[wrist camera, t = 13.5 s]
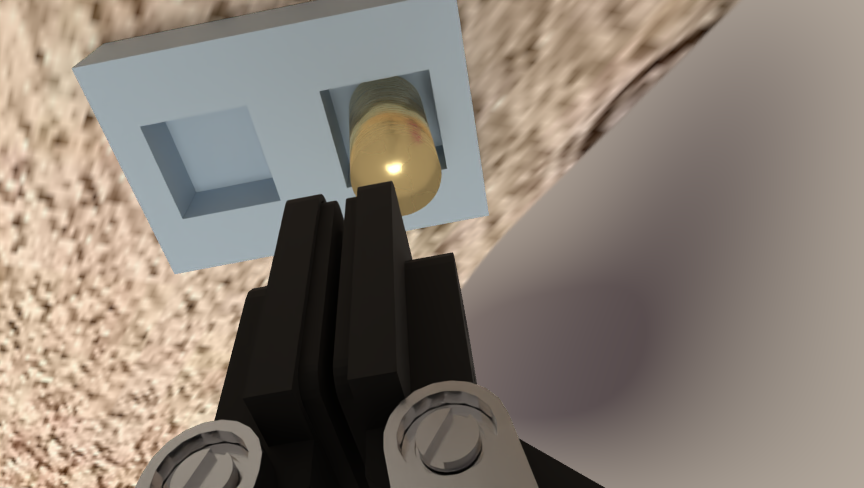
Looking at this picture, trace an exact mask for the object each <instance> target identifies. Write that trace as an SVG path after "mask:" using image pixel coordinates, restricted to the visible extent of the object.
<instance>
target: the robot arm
mask: <svg viewBox="0 0 864 488" xmlns="http://www.w3.org/2000/svg"><path fill="white" fill-rule="evenodd" d="M135 488H605V487H603V486H601V485H599V484H597V483H596V482H594V481H592V480H591V479H589V478H587V477H585V476H583V475H582V474H580V473H578V472H576V471H575V470H573V469H571V468H570V467H568V466H566V465H564V464H562V463H561V462H559V461H557V460H556V459H554V458H552V457H550V456H549V455H547V454H545V453H543V452H542V451H540V450H538V449H536V448H535V447H533V446H531V445H529V444H528V443H526V442H524V441H522V440H521V439H519V438H518V435H517V433H516V431H515V428H514V426H513V423H512V421H511V418H510V416H509V413H508V411H507V410H506V408H505V407H504V406H503V404H502V402H501V400H500V399H499V398H498V397H497V396H495V395H494V394H493V393H492V392H490V391H489V390H488V389H486V388H484V387H481V386H479V385H477V382H476V376H475V370H474V363H473V357H472V351H471V345H470V339H469V333H468V328H467V321H466V316H465V310H464V305H463V300H462V294H461V289H460V284H459V279H458V273H457V268H456V263H455V258H454V254H453V253H447V254H442V255H436V256H431V257H425V258H420V259H414V260H412V256H411V252H410V248H409V243H408V239H407V235H406V231H405V227H404V223H403V219H402V215H401V211H400V207H399V203H398V199H397V194H396V191H395V187H394V184H393V182H392V181H387V182H382V183H377V184H371V185H366V186H361V187H358V188H357V197H351V198H347V199H346V203H345V216H344V218H343V215H342V211H341V208H340V205H339V203H338V201H336V200H335V201H330V202H326V199H325V197H324V196H323V195H322V194H318V195H313V196H307V197H302V198H297V199H291V200H287V201H286V204H285V208H284V212H283V217H282V221H281V226H280V230H279V235H278V239H277V244H276V248H275V253H274V257H273V262H272V267H271V271H270V276H269V280H268V285H267V286H265V287H259V288H254V289H252V290H250V291H249V292H248V295H247V297H246V300H245V304H244V308H243V311H242V315H241V319H240V323H239V327H238V331H237V335H236V339H235V343H234V347H233V350H232V354H231V358H230V362H229V366H228V370H227V374H226V378H225V382H224V385H223V389H222V393H221V397H220V401H219V405H218V409H217V413H216V417H215V421H211V422H206V423H202V424H200V425H197V426H195V427H192V428H190V429H188V430H185V431H184V432H182V433H181V434H179V435H178V436H176V437H175V438H173V439H172V440H170V441H169V442H167V443H166V444H165V445H164V446H163V447H162V448H161V449H160V450H159V451H158V452H157V453H156V454H155V455H154V456H153V458H152V459H151V461H150V462H149V464H148V465H147V467H146V468H145V470H144V471H143V473H142V475H141V477H140V479H139V481H138V483H137V485H136V487H135Z"/></svg>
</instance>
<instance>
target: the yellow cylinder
mask: <svg viewBox="0 0 864 488" xmlns="http://www.w3.org/2000/svg"><path fill="white" fill-rule="evenodd" d="M349 141H350V179H351V186H352V189H353V192H354V194H355V195H356V197H357V188H358V187H361V186H366V185H371V184H377V183H382V182H387V181H392V182H393V184H394V187H395V191H396V194H397V199H398V203H399V207H400V211H401V215H402V216H405V215H409V214H412V213H415V212H417V211H419V210H421V209H422V208H424V207H425V206H426V205H427V204H428V203H430V202H431V200H432V199H433V198H434V197H435V195H436V193H437V191H438V189H439V187H440V183H441V177H442V172H441V166H440V162H439V159H438V155H437V152H436V149H435V145H434V142H433V138H432V135H431V132H430V128H429V125H428V121H427V118H426V114H425V111H424V108H423V104H422V101H421V97H420V95H419V93H418V91H417V90H416V88H415V87H414V86H413V85H412V84H411V83H410V82H408V81H407V80H405V79H404V78H402V77H399V76H394V77H389V78H384V79H378V80H373V81H368V82H363V83H361V84H360V85H359V86H358V87H357V88H356V89H355V91H354V92H353V94H352V96H351V99H350V103H349Z"/></svg>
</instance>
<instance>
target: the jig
mask: <svg viewBox="0 0 864 488" xmlns="http://www.w3.org/2000/svg"><path fill="white" fill-rule="evenodd" d="M72 70H73V72H74V74H75V76H76V78H77V80H78V82H79V84H80V86H81V88H82V90H83V92H84V94H85V96H86V98H87V100H88V102H89V104H90V106H91V108H92V110H93V112H94V114H95V116H96V118H97V120H98V122H99V124H100V126H101V128H102V130H103V132H104V134H105V136H106V138H107V140H108V142H109V144H110V146H111V148H112V150H113V152H114V154H115V156H116V158H117V160H118V162H119V164H120V166H121V168H122V170H123V172H124V174H125V176H126V178H127V180H128V182H129V184H130V186H131V188H132V190H133V192H134V194H135V196H136V198H137V200H138V202H139V204H140V206H141V208H142V210H143V212H144V214H145V216H146V218H147V220H148V222H149V224H150V226H151V228H152V230H153V232H154V234H155V236H156V238H157V240H158V242H159V244H160V246H161V248H162V250H163V252H164V254H165V256H166V258H167V260H168V262H169V264H170V266H171V268H172V270H173V272H174V274H178V273H183V272H189V271H194V270H199V269H205V268H210V267H215V266H221V265H226V264H231V263H237V262H242V261H247V260H253V259H258V258H263V257H269V256H274V253H275V248H276V244H277V239H278V235H279V230H280V226H281V221H282V217H283V212H284V208H285V204H286V201H287V200H291V199H297V198H302V197H307V196H313V195H318V194H322V195H323V196H324V197H325V199H326V202H330V201H335V200H336V201H338V203H339V205H340V208H341V211H342V215H343V218H344V216H345V203H346V199H347V198H351V197H356V195H355V194H354V192H353V189H352V186H351V179H350V141H349V103H350V99H351V96H352V94H353V92H354V91H355V89H356V88H357V87H358V86H359V85H360V84H361V83H363V82H368V81H373V80H378V79H384V78H389V77H394V76H399V77H402V78H404V79H405V80H407V81H408V82H410V83H411V84H412V85H413V86H414V87H415V88H416V90H417V91H418V93H419V95H420V97H421V101H422V104H423V108H424V111H425V114H426V118H427V121H428V125H429V128H430V132H431V135H432V138H433V142H434V145H435V149H436V152H437V155H438V159H439V162H440V166H441V172H442V177H441V183H440V187H439V189H438V191H437V193H436V195H435V197H434V198H433V199H432V200H431V202H430V203H428V204H427V205H426V206H425V207H424V208H422V209H421V210H419V211H417V212H415V213H412V214H409V215H405V216H402V219H403V223H404V227H405V231H408V230H413V229H419V228H424V227H429V226H435V225H440V224H445V223H451V222H456V221H461V220H467V219H472V218H477V217H483V216H488V215H489V213H488V206H487V199H486V193H485V186H484V179H483V173H482V166H481V159H480V153H479V146H478V139H477V133H476V126H475V119H474V113H473V106H472V99H471V93H470V86H469V79H468V73H467V66H466V59H465V53H464V46H463V39H462V33H461V26H460V19H459V13H458V6H457V0H316V1H311V2H306V3H301V4H296V5H291V6H286V7H281V8H276V9H271V10H266V11H262V12H257V13H252V14H247V15H242V16H237V17H232V18H227V19H222V20H217V21H212V22H207V23H203V24H198V25H193V26H188V27H183V28H178V29H173V30H168V31H163V32H158V33H153V34H148V35H144V36H139V37H134V38H129V39H124V40H119V41H114V42H109V43H104V44H102V45H101V46H100V47H98V48H97V49H96V50H95V51H93V52H92V53H91V54H89V55H88V56H87V57H86V58H84V59H83V60H82V61H81V62H79V63H78V64H77V65H75V66H74V67H73V68H72Z"/></svg>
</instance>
